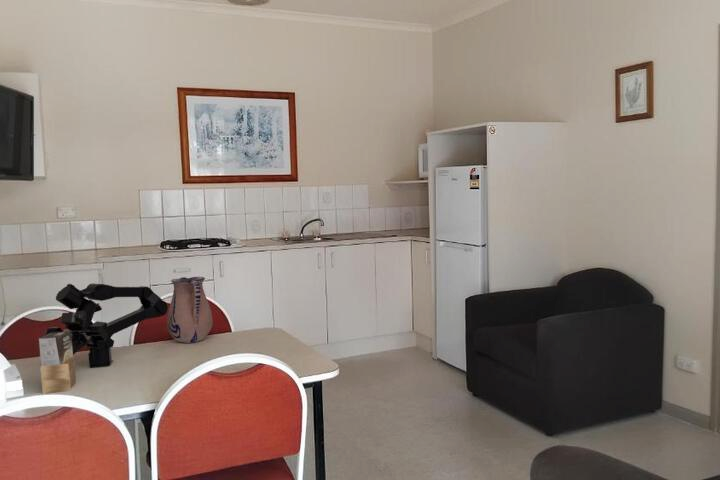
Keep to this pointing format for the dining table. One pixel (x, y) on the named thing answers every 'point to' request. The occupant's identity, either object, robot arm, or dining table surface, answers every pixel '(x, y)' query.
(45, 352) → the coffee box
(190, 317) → the ceramic pitcher
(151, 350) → the dining table surface
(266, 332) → the dining table surface
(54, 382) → the tan wooden block
